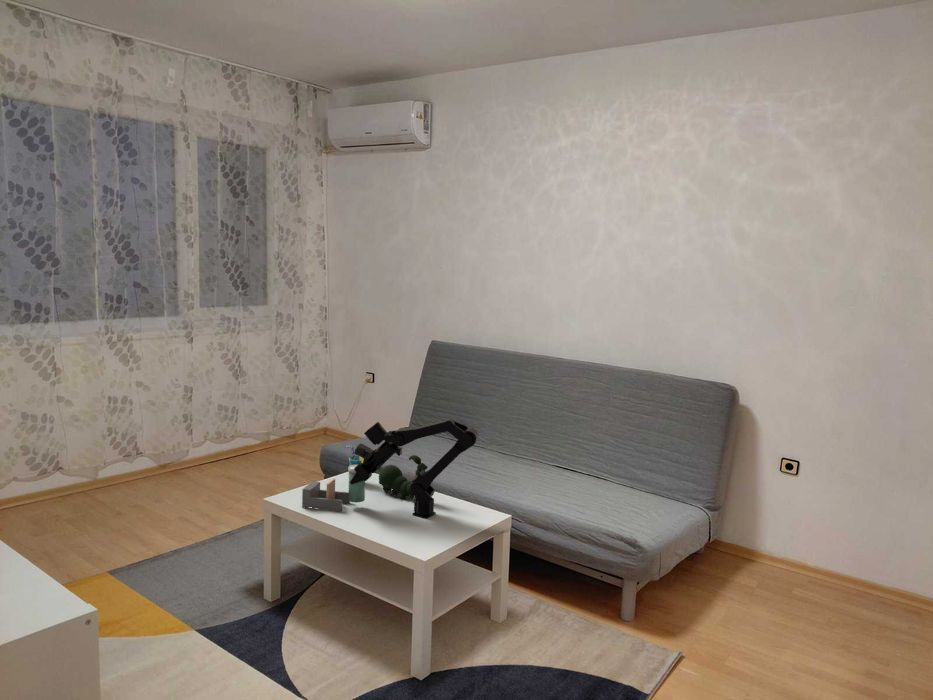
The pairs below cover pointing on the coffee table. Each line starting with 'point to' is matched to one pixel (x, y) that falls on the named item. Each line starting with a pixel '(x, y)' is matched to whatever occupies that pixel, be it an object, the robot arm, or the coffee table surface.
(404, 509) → the coffee table surface
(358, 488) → the jar
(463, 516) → the coffee table surface
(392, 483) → the toy figurine
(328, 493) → the pusher plate
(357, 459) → the cup
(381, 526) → the coffee table surface
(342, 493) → the pusher lane
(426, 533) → the coffee table surface
